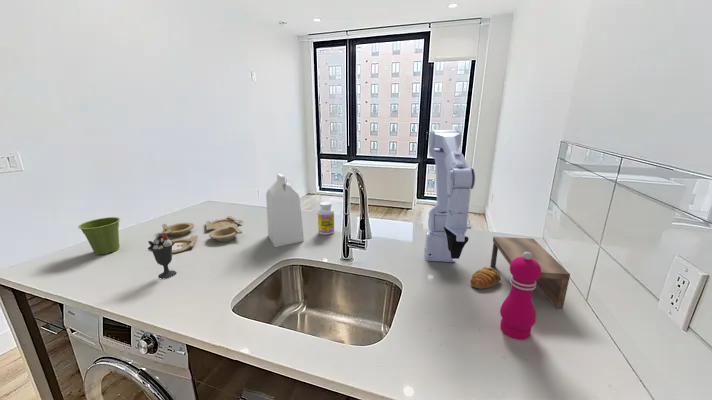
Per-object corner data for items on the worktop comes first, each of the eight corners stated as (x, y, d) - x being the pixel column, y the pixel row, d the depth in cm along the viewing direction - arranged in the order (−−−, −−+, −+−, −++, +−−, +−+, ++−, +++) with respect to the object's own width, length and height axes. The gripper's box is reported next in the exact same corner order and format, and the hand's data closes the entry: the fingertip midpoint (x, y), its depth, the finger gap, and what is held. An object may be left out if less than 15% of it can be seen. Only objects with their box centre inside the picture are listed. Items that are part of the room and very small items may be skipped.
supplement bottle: (319, 236, 125) (318, 206, 121) (317, 230, 131) (316, 201, 127) (335, 234, 126) (334, 204, 123) (333, 228, 133) (332, 200, 129)
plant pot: (127, 241, 121) (120, 214, 118) (126, 252, 112) (119, 223, 108) (88, 249, 115) (80, 221, 112) (84, 261, 105) (75, 231, 102)
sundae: (184, 271, 98) (176, 227, 94) (165, 282, 92) (156, 236, 88) (169, 268, 100) (160, 225, 96) (149, 278, 94) (139, 233, 90)
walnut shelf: (513, 305, 80) (518, 271, 77) (489, 264, 101) (493, 236, 98) (562, 308, 78) (570, 274, 75) (528, 266, 99) (533, 238, 96)
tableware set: (238, 218, 148) (237, 210, 147) (253, 239, 124) (252, 229, 122) (153, 233, 130) (151, 224, 129) (150, 260, 106) (148, 250, 105)
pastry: (485, 294, 85) (487, 282, 84) (463, 284, 90) (465, 273, 89) (501, 282, 91) (503, 270, 90) (479, 273, 96) (481, 262, 95)
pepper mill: (491, 321, 74) (502, 245, 68) (520, 319, 75) (533, 244, 69) (508, 342, 67) (522, 260, 61) (539, 340, 68) (555, 259, 62)
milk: (268, 235, 126) (262, 173, 118) (295, 230, 131) (291, 170, 123) (274, 246, 115) (268, 179, 108) (304, 240, 120) (300, 176, 113)
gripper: (478, 219, 79) (473, 267, 82) (466, 203, 92) (462, 244, 96) (450, 218, 79) (446, 265, 83) (443, 202, 93) (439, 243, 97)
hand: (453, 254), depth 90 cm, fingers open, 4 cm apart
